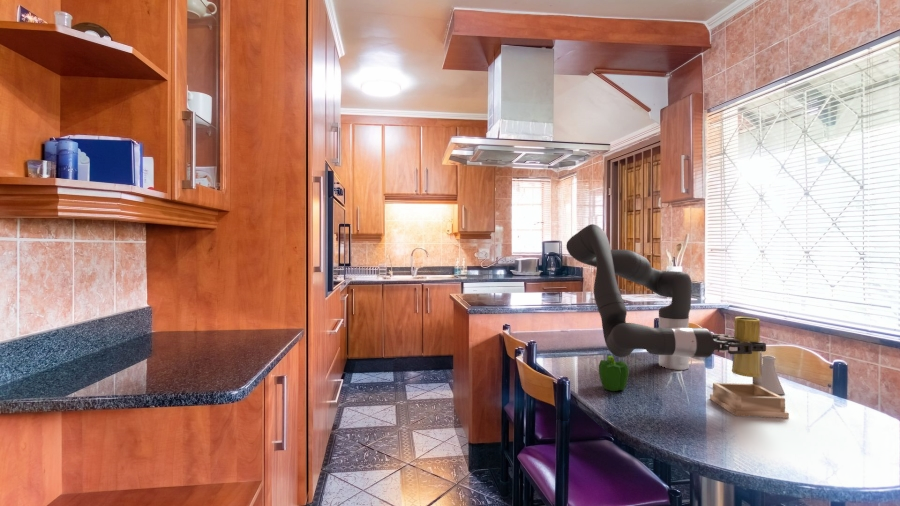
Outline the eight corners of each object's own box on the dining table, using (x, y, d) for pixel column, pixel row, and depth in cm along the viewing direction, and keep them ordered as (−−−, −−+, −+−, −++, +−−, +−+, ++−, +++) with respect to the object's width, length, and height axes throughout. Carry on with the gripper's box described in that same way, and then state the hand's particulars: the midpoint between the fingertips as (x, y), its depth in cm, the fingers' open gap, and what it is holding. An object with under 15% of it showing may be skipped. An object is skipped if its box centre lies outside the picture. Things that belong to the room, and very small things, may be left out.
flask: (790, 396, 115) (790, 360, 115) (761, 394, 116) (761, 359, 116) (775, 388, 122) (775, 354, 122) (748, 386, 123) (747, 353, 123)
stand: (708, 398, 113) (709, 350, 113) (758, 399, 112) (758, 351, 112) (735, 416, 101) (736, 362, 101) (792, 418, 100) (792, 363, 100)
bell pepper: (615, 383, 126) (615, 350, 126) (634, 391, 118) (634, 357, 118) (591, 386, 124) (591, 352, 124) (610, 395, 116) (610, 359, 116)
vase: (734, 369, 111) (735, 315, 110) (763, 374, 106) (764, 318, 106) (729, 373, 106) (730, 318, 106) (758, 379, 102) (759, 321, 102)
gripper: (702, 333, 100) (776, 335, 99) (675, 323, 115) (740, 324, 113) (701, 363, 100) (776, 366, 99) (675, 350, 115) (740, 352, 113)
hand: (757, 344), depth 106 cm, fingers closed on vase, 5 cm apart
